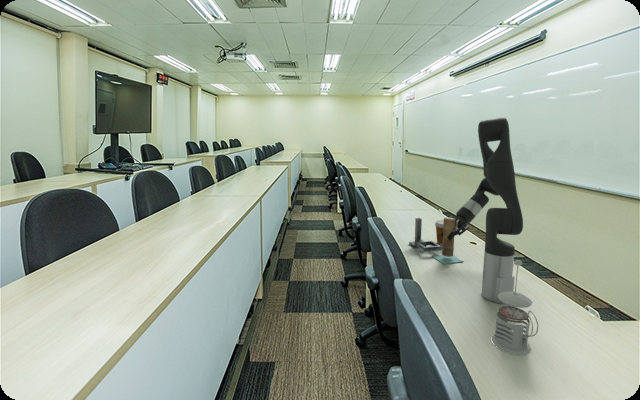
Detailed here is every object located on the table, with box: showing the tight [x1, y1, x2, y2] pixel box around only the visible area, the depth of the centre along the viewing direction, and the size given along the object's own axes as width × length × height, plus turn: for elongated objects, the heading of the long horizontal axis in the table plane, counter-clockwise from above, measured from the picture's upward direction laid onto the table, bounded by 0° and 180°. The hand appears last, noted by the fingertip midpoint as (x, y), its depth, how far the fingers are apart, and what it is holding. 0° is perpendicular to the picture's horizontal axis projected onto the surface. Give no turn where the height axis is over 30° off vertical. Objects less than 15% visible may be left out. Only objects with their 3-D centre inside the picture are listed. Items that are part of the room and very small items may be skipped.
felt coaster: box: [431, 254, 464, 265], centre depth 149 cm, size 10×10×1 cm
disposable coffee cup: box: [434, 219, 444, 245], centre depth 173 cm, size 10×10×12 cm
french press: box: [491, 259, 539, 356], centre depth 84 cm, size 10×12×25 cm
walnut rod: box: [441, 217, 455, 257], centre depth 147 cm, size 5×5×18 cm
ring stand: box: [408, 217, 442, 253], centre depth 162 cm, size 18×9×16 cm, turn 10°
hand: (445, 237), depth 147 cm, fingers closed on walnut rod, 5 cm apart
